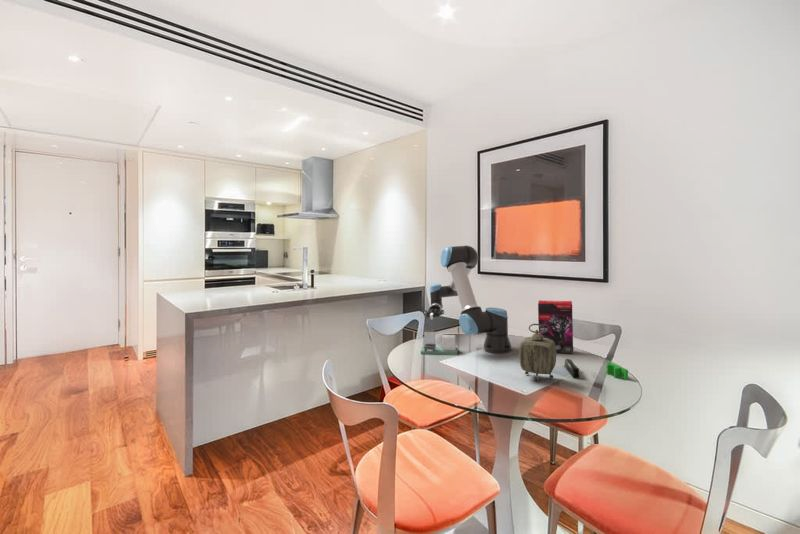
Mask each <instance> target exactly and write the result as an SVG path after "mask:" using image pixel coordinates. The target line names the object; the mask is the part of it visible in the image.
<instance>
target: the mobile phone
mask: <svg viewBox="0 0 800 534" xmlns="http://www.w3.org/2000/svg"><path fill="white" fill-rule="evenodd" d="M563 367H564V368H565V370H566V371H567V372H568V373H569V375H570V376H571V377H572V378H573V379H580V368H579V367H578V366H577V365H576V364H575V363H574V361H573V359H569V358H565V359H564V365H563Z"/></svg>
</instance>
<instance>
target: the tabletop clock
mask: <svg viewBox="0 0 800 534" xmlns="http://www.w3.org/2000/svg"><path fill="white" fill-rule="evenodd" d="M532 326H538V327H539V326H542V327H543V328H544V331H545V327H544V326H543V325H541V324H539V323H532V324H530V325H529V326H528V330H529V331H530V332H531V333H532V335H531V336H529V337H524V339H523V340H522V341H521V342H520V344H519V350H518V357H519V366H520V368H521V370H523V371H524V374H525V375H526V374H528V375H529V373H531V374H535V377H534V380H535V381H536V380H537V382H538V381H539V375H549V378H550V379H553V378H554V375H553V374H552V372H553V370H554V369H555V367H556V362H557V352H556V346H555V343H554V341H553V340H551V339H547V338H543V336H542V335H541V334H539V333H543V332H544V331H542V332H539V329H536V330H533V329H531V327H532Z"/></svg>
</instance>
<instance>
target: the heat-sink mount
mask: <svg viewBox="0 0 800 534" xmlns="http://www.w3.org/2000/svg"><path fill="white" fill-rule="evenodd" d="M441 339H442V340H441V342H442V344H441V345H442V346H436V348H435V346H425V345H423V346H422V348H421V350H420V354H421V355H458V350H459V347H458V346H457V345H456V343H457V340H456V334H443V335H442V336H441ZM427 349H433V351H427Z"/></svg>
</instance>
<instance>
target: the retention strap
mask: <svg viewBox="0 0 800 534" xmlns="http://www.w3.org/2000/svg"><path fill="white" fill-rule="evenodd" d="M423 335H424V338H423V339H424V346H435V348H436V347H437V346H436V345H437V342H436V331H424V333H423ZM427 351H433V349H427Z"/></svg>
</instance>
